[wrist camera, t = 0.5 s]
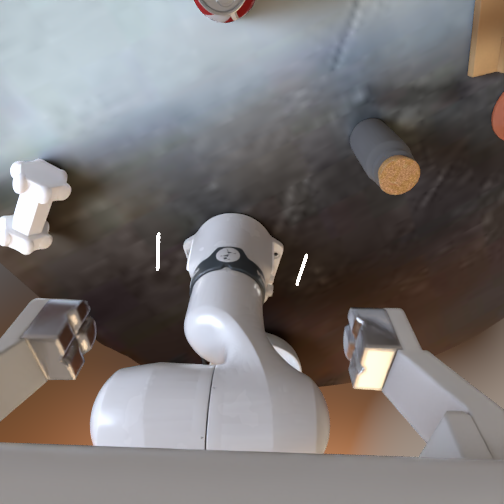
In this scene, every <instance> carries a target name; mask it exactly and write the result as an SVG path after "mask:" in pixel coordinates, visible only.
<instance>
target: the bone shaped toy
mask: <svg viewBox="0 0 504 504" xmlns="http://www.w3.org/2000/svg"><path fill="white" fill-rule="evenodd" d="M10 173H11V176H12V177H13V178H14V180H13V189H14V191H15V192H16V193H18V194H20V195H19V199H18V202H17V206H16V209H15V213H14V215H9V216H2V217H1V218H0V231H1V232H0V245H2V246H8V247H11V248H13V249H15V250H17V251H19V252H20V253H22V254H25V255H28V254H30V253H32V252H33V251H34V250H38V249H45V248H47V247H49V246H50V245H51V243H52V236H51V235H50V234H48V231H49V223H48V222H47V221H46V218H47V216H48V213H49V210H50V207H51V204H52V201H58V200H60V201H62V200H65V199H67V198H68V197H69V195H70V193H71V187H70V185H69V184H68V183H66V182H67V173H66V171H64V170H61V169H59V168H57V167H55V166H53V165H52V164H50V163H48V162H46V161H44V160H43V159H36V160H35V161H21V160H20V161H16V162H15V163H13V165H12V166H11V169H10Z"/></svg>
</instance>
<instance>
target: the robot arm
mask: <svg viewBox="0 0 504 504" xmlns="http://www.w3.org/2000/svg"><path fill="white" fill-rule="evenodd" d="M183 247H184V251H185V253H186V256H187V259H188V263H187V270H188V271H189V273H190V276H191V278H192V279H191V283H190V301H189V305H188V309H187V314H186V318H185V321H184V331H185V336H186V338H187V340H188V342H189V344H190V345H191V347H192V348H193V349H194V350H195V352H196V353H197V354H198V355H199V356H201V357H202V363H203V365H201V364H182V363H162V362H160V363H152V364H145V365H139V366H133V367H128V368H122V369H120V370H118V371H117V372H115V373H114V374H113V375H112V376H111V377H110V378H109V379H108V380H107V382H106V383H105V384H104V385H103V387H102V388H101V390H100V392H99V393H98V395H97V397H96V400H95V402H94V405H93V409H92V413H91V419H90V432H91V438H92V442H93V445H94V446H88V445H58V444H31V443H30V444H29V443H1V442H0V504H504V409H502V408H501V407H500V406H499V405H497V404H496V403H495V402H494V401H492V400H491V399H490V398H488V397H487V396H486V395H484V394H483V393H482V392H481V391H479V390H478V389H477V388H475V387H474V386H473V385H471V384H470V383H469V382H468V381H466V380H465V379H464V378H462V377H461V376H460V375H458V374H457V373H456V372H455V371H453V370H452V369H451V368H449V367H448V366H447V365H445V364H444V363H443V362H442V361H440V360H439V359H438V358H436V357H435V356H434V355H432V354H431V353H430V352H429V351H423V350H422V348H421V346H420V344H419V342H418V340H417V338H416V336H415V334H414V332H413V330H412V328H411V325H410V323H409V321H408V319H407V317H406V315H405V313H404V311H403V310H402V309H401V308H357V307H351V308H350V310H349V312H348V316H347V317H348V320H349V324H348V325H347V326H345V329H344V335H343V345H344V352H345V356H346V358H347V359H348V360H349V361H351V362H350V366H349V373H350V377H351V381H352V385H353V388H355V389H370V390H382V392H383V393H384V394H385V396H386V397H387V398H388V399H389V400H390V401H391V403H392V404H393V405H394V406H395V407H396V408H397V410H398V411H399V412H400V413H401V414H402V415H403V417H404V418H405V419H406V420H407V421H408V422H409V423H410V424H411V426H412V427H413V428H414V429H415V430H416V431H417V433H418V434H419V435H420V436H421V437H422V438H423V440H424V441H425V442H426V443H427V444H426V446H425V447H424V449H423V451H422V452H421V454H420V456H419V457H403V456H374V455H344V454H324V451H325V449H326V446H327V443H328V439H329V433H330V418H329V412H328V407H327V404H326V401H325V398H324V397H323V394H322V392H321V391H320V389H319V388H318V386H317V385H316V384H315V382H314V381H313V380H312V379H311V378H310V377H309V376H307V375H305V374H303V373H302V372H300V371H298V370H297V369H295V368H294V367H293V366H291V365H290V364H289V363H288V362H287V361H285V360H284V359H283V358H282V357H281V356H280V354H279V353H278V352H277V351H276V350H275V348H274V347H273V346H272V344H271V343H270V341H269V339H268V337H267V335H266V333H265V329H264V322H263V310H262V305H263V303H265V302H266V300H267V298H268V296H269V297H270V296H272V293H273V285H272V283H273V282H274V277H275V274H276V271H277V268H278V265H279V262H280V259H281V256H282V253H283V248H284V247H283V244H282V243H281V242H279V241H278V240H276V239H275V238H273V237H272V236H271V235H270V234H269V233H268V231H267V230H266V229H265V227H264V226H263V225H262V224H261V223H259V222H258V221H257V220H255V219H253V218H251V217H249V216H246V215H243V214H237V213H226V214H221V215H217V216H215V217H213V218H211V219H209V220H208V221H206V222H205V223H204V224H203V225H202V226H201V228H200V229H199V230H198V232H197V233H196V234H195V235H193V236H191V237H189V238H188V239H186V240H185V241H184V245H183ZM159 253H160V233H158V234H157V265H156V270H158V269H159ZM274 253H277V254H274ZM307 257H308V256H307V254H305V257H304V260H303V263H302V266H301V269H300V272H299V275H298V278H297V281H296V285H297V286H298V284H299V281H300V278H301V275H302V272H303V269H304V266H305V263H306V260H307ZM89 311H90V307H89V304H88V302H87V301H84V300H70V299H44V298H36V299H34V300H32V301H31V302H30V303H29V304H28V305H27V307H26V308H25V309H24V310H23V312H22V313H21V314H20V315H19V316H18V318H17V319H16V320H15V321H14V323H13V324H12V325H11V326H10V328H9V329H8V330H7V331H6V333H5V334H4V335H3V336H2V337H1V338H0V421H1V420H2V419H4V418H5V417H6V416H7V415H8V414H9V413H10V412H12V411H13V410H14V409H15V408H16V407H18V406H19V405H20V404H21V403H22V402H23V401H25V400H26V399H27V398H28V397H29V396H30V395H32V394H33V393H34V392H35V391H36V390H37V389H38V388H40V387H41V386H42V385H43V384H44V383H46V382H47V380H75V379H76V377H77V375H78V373H79V371H80V370H81V368H82V366H83V364H84V362H85V360H84V357H83V354H85V353H86V352H88V351H89V350H91V348H92V346H93V344H94V342H95V338H96V333H97V331H96V324H95V321H94V319H93V318H92V317H90V316H89V315H88V313H89ZM206 360H207V361H208V362H210V363H212V364H214V365H207V363H206Z"/></svg>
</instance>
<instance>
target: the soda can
mask: <svg viewBox="0 0 504 504" xmlns="http://www.w3.org/2000/svg"><path fill="white" fill-rule="evenodd" d="M194 2H195V3H196V5H197V7H198V8H199V10H200V11H201V12H202V13H203V14H204V15H205V16H207V17H208V18H210V19H211V20H214V21H216V22H221V23H228V22H232V21H235V20H237V19H239V18H241V17H242V16H244V15H245V14H247V13H248V12H249V10H250V9H251V8H252V6H253V4H254V2H255V0H194Z"/></svg>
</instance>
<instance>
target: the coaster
mask: <svg viewBox="0 0 504 504" xmlns="http://www.w3.org/2000/svg"><path fill="white" fill-rule="evenodd" d="M491 122H492V128H493V131H494V133H495V134H496V135H497V136H498V137H499V138H500V139H502V140H504V92H503V93H502V94H501V96H500V97H499V99H498V101H497V102H496V104H495V107H494V109H493V113H492V119H491Z"/></svg>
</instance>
